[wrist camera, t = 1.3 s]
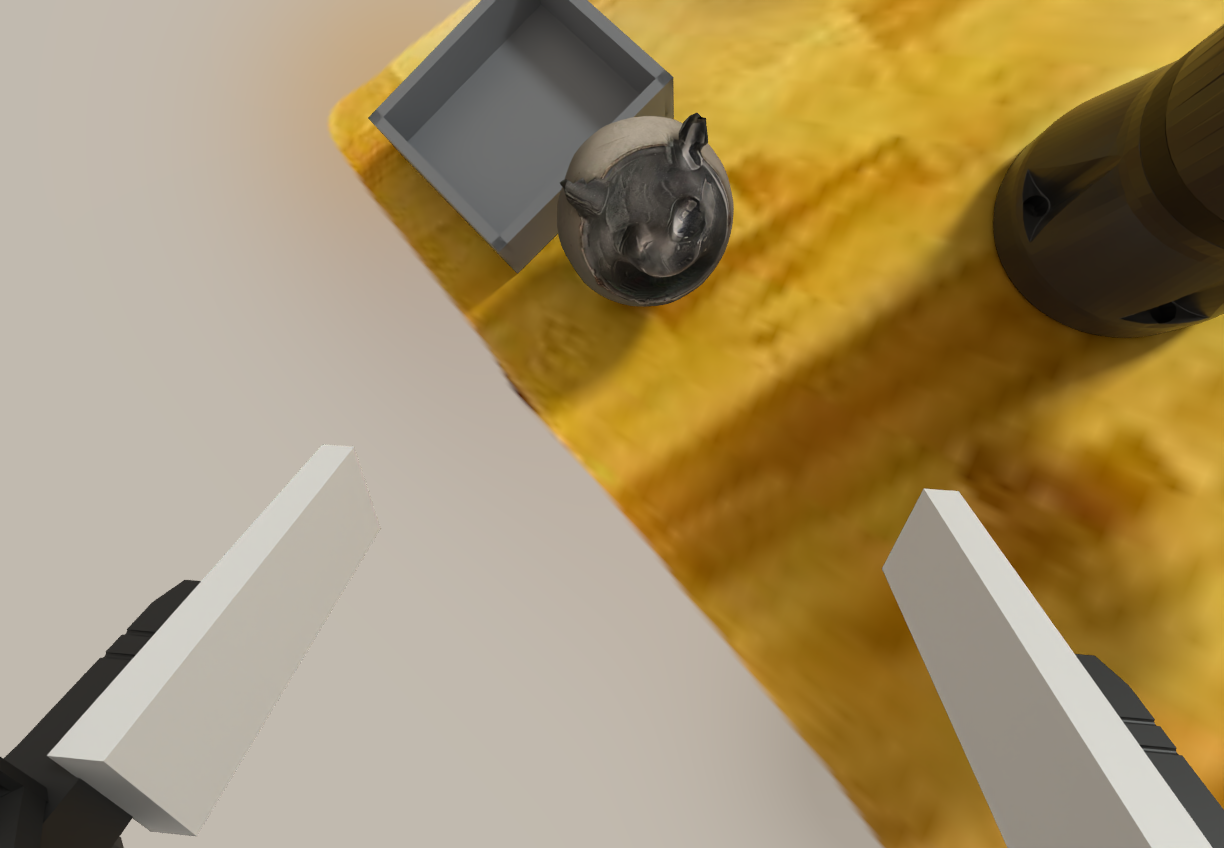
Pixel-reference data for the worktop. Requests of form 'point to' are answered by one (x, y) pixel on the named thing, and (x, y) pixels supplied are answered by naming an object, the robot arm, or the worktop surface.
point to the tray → (518, 112)
